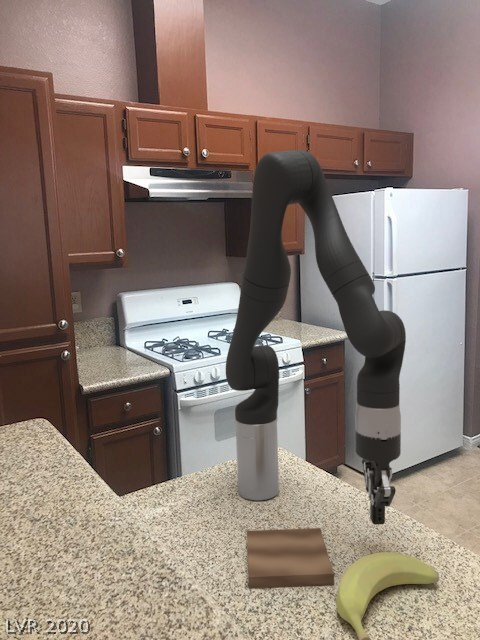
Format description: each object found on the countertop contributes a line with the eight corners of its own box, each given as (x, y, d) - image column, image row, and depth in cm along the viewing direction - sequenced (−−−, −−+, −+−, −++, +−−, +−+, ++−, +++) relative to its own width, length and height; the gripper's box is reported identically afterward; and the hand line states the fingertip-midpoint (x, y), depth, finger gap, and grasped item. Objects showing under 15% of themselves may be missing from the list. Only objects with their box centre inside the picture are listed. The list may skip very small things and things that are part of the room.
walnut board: (247, 540, 100) (246, 530, 100) (320, 537, 100) (320, 528, 100) (248, 588, 86) (248, 577, 86) (334, 585, 86) (333, 573, 86)
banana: (355, 553, 92) (320, 640, 75) (361, 527, 91) (326, 610, 73) (435, 586, 87) (417, 688, 70) (443, 559, 85) (427, 657, 68)
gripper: (347, 416, 96) (348, 504, 99) (365, 443, 83) (365, 544, 86) (388, 414, 97) (387, 503, 99) (412, 441, 83) (411, 542, 86)
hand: (377, 522), depth 93 cm, fingers closed
